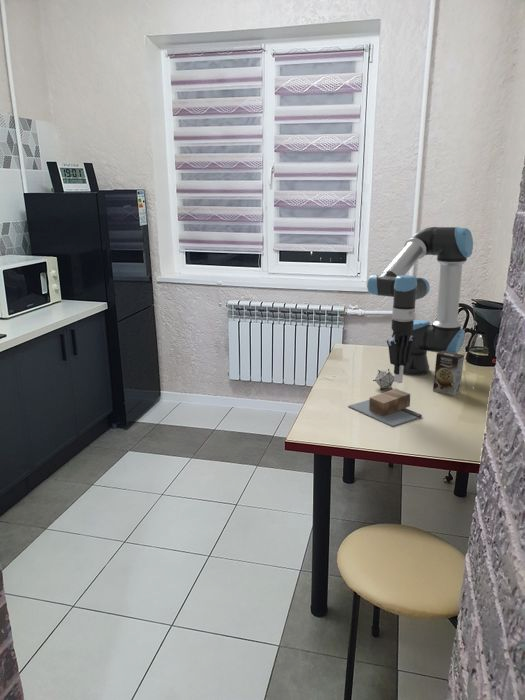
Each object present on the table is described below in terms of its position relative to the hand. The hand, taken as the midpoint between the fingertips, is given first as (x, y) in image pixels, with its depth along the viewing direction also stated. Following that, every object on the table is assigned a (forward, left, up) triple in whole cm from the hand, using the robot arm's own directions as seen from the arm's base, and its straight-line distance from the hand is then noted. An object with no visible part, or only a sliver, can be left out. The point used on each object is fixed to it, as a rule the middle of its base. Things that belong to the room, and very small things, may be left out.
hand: (398, 381), depth 190 cm
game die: (-13, -18, -11) cm, 25 cm away
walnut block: (-3, 0, -7) cm, 7 cm away
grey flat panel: (+7, 0, -10) cm, 12 cm away
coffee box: (-31, -1, -11) cm, 33 cm away
